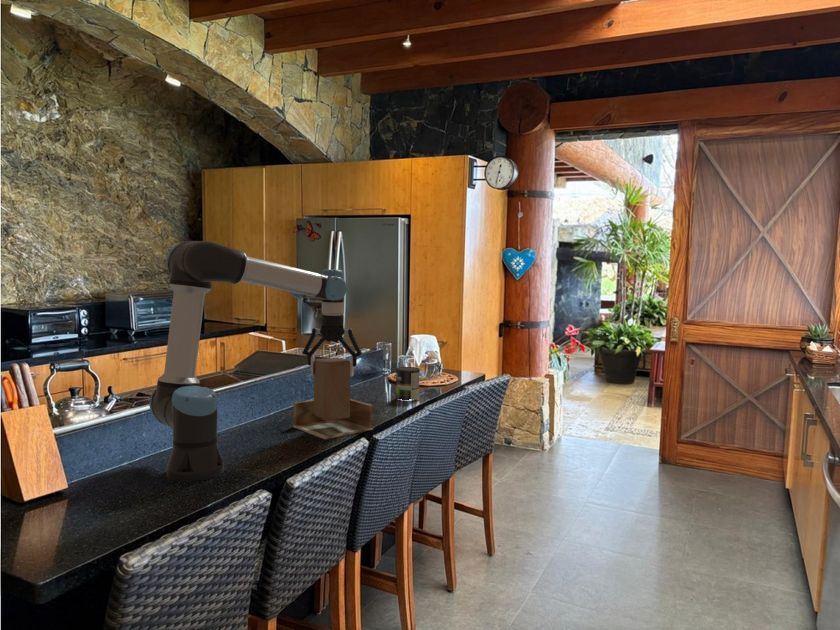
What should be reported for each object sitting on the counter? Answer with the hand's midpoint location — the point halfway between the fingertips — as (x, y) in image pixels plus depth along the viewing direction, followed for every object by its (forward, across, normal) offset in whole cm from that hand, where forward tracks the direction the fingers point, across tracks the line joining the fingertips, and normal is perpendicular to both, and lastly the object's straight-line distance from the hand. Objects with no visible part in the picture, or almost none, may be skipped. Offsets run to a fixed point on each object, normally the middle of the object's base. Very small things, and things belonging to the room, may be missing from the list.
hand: (332, 375), depth 222 cm
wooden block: (+15, 0, +1) cm, 15 cm away
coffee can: (+20, -22, -54) cm, 61 cm away
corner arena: (+20, 0, -3) cm, 20 cm away
